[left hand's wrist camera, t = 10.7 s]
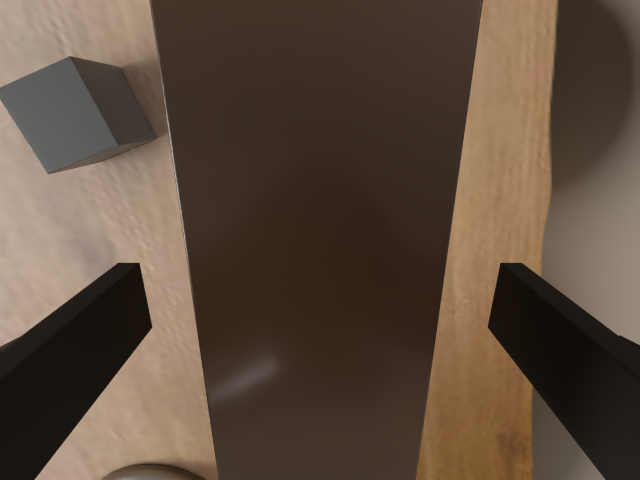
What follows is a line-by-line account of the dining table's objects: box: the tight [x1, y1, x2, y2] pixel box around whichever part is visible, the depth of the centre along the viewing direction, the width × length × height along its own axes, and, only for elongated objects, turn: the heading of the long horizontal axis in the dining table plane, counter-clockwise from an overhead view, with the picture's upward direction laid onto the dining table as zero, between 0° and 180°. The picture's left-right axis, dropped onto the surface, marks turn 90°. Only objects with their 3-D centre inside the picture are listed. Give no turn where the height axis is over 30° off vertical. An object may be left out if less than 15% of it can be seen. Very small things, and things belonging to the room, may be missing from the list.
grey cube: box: [0, 56, 156, 174], centre depth 22 cm, size 5×5×5 cm
